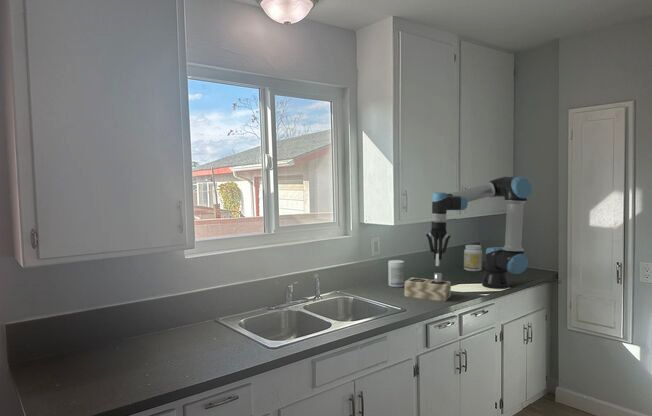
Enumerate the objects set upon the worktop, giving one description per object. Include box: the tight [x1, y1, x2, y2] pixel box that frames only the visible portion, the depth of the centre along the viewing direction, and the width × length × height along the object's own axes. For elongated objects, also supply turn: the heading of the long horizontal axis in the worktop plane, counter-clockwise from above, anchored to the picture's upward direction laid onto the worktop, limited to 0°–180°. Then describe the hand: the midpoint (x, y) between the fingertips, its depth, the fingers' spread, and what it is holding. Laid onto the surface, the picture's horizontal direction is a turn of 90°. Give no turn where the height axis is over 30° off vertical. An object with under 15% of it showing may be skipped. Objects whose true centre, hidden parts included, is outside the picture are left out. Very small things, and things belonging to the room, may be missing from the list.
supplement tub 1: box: [387, 259, 406, 288], centre depth 275 cm, size 10×10×15 cm
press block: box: [403, 277, 452, 302], centre depth 251 cm, size 22×12×8 cm, turn 62°
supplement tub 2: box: [463, 244, 483, 272], centre depth 323 cm, size 12×12×17 cm
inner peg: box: [433, 272, 443, 284], centre depth 248 cm, size 4×4×7 cm
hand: (437, 265), depth 248 cm, fingers closed
